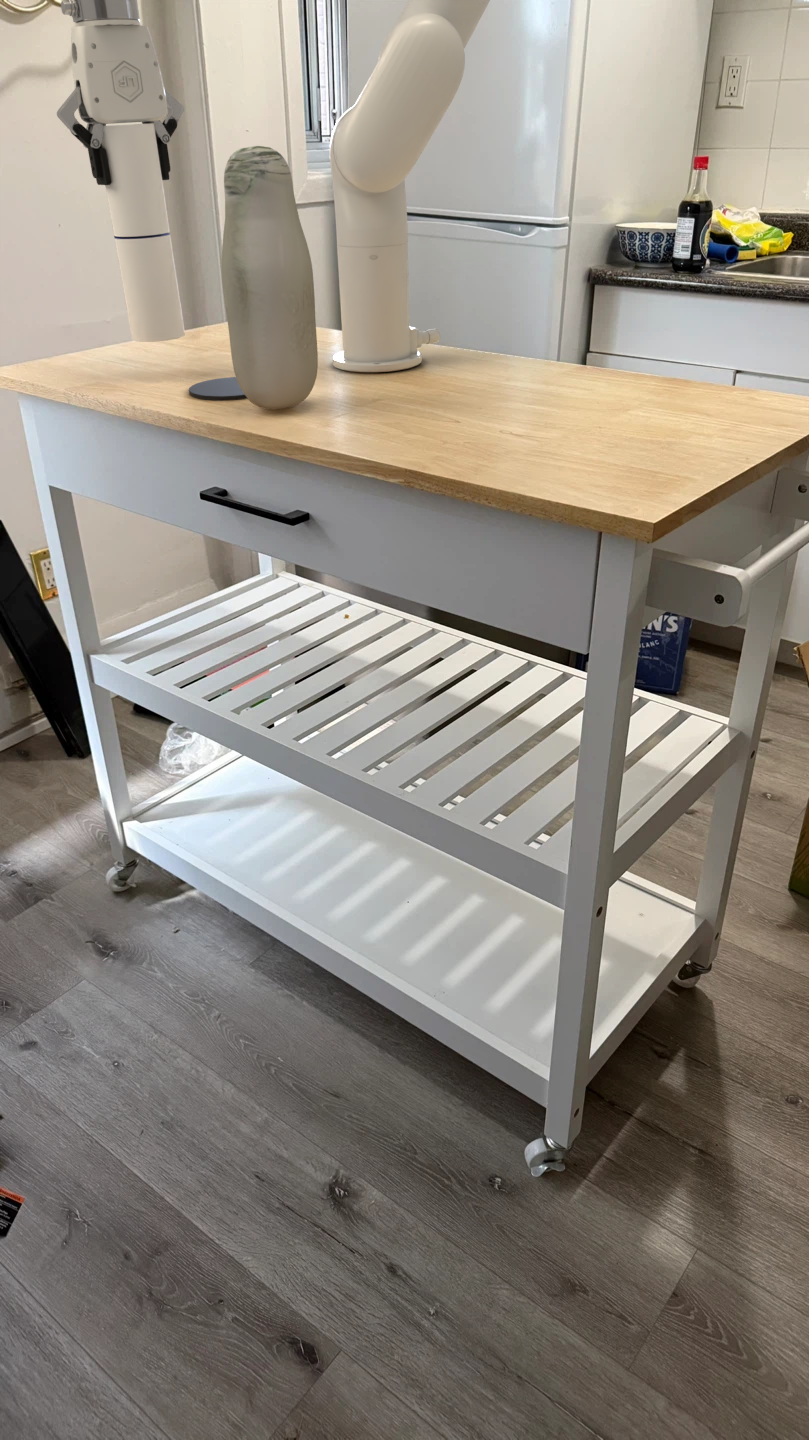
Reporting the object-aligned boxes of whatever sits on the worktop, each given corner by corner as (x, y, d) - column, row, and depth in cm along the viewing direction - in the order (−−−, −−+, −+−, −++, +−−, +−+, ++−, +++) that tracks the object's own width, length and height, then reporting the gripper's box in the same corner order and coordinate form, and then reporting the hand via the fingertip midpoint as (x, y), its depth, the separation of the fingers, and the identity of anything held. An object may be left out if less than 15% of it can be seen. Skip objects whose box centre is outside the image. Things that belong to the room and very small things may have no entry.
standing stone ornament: (256, 396, 131) (231, 145, 117) (332, 399, 129) (315, 143, 114) (224, 416, 123) (192, 148, 109) (304, 419, 120) (282, 146, 106)
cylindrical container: (139, 344, 136) (102, 126, 123) (126, 336, 141) (89, 126, 128) (191, 337, 138) (160, 122, 126) (176, 329, 144) (145, 123, 131)
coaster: (252, 376, 141) (252, 373, 141) (287, 391, 133) (287, 387, 133) (176, 388, 136) (176, 384, 136) (208, 404, 128) (207, 400, 128)
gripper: (45, 9, 114) (78, 188, 123) (187, 10, 123) (208, 177, 132) (23, 16, 120) (56, 187, 129) (160, 16, 128) (183, 176, 137)
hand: (133, 181), depth 130 cm, fingers closed on cylindrical container, 7 cm apart
